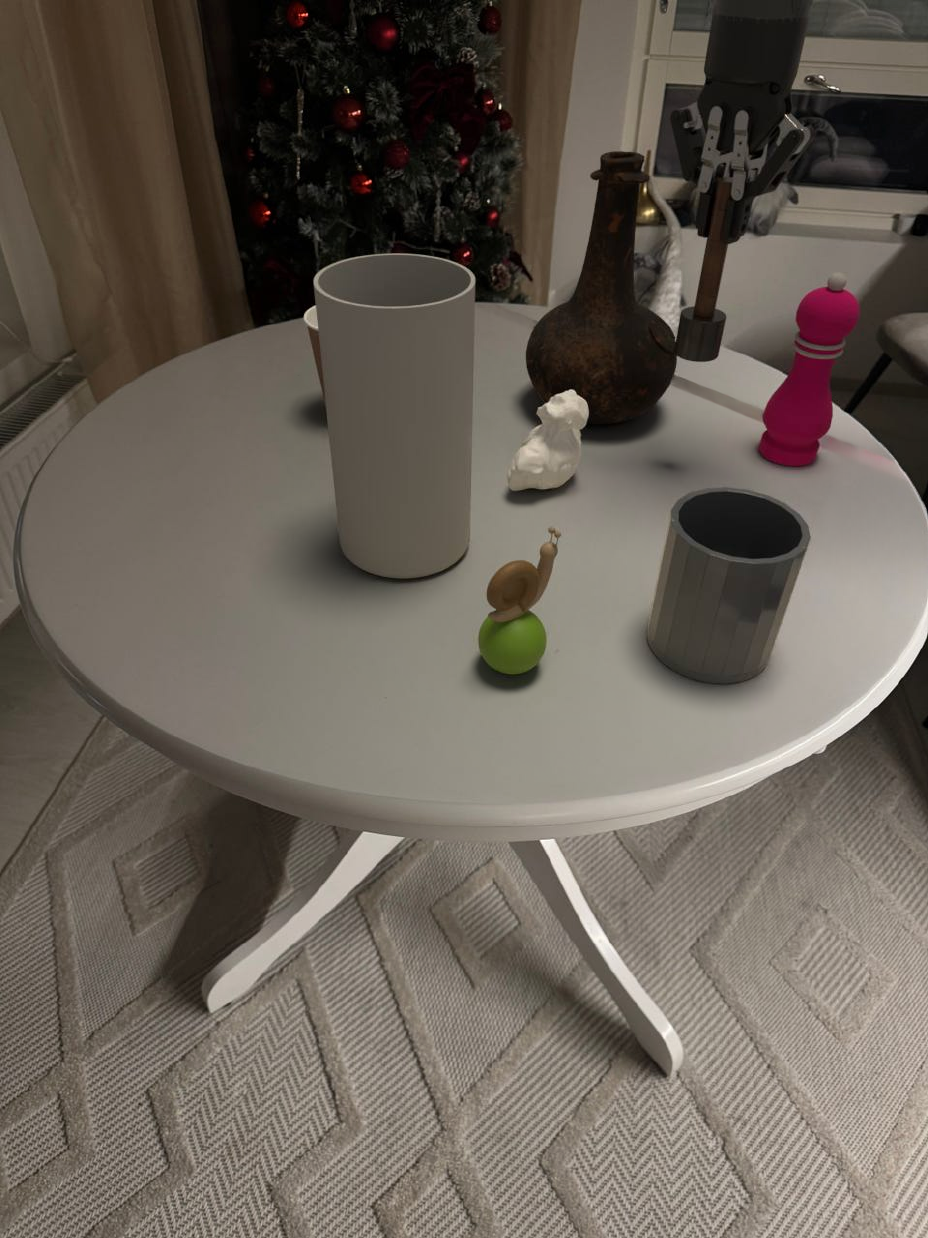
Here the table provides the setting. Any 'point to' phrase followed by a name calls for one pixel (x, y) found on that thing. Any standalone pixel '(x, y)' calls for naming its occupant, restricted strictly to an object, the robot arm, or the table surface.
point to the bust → (551, 445)
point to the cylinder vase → (399, 408)
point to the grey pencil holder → (725, 583)
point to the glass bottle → (606, 314)
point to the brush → (707, 291)
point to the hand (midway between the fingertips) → (718, 237)
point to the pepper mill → (809, 376)
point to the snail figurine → (517, 613)
